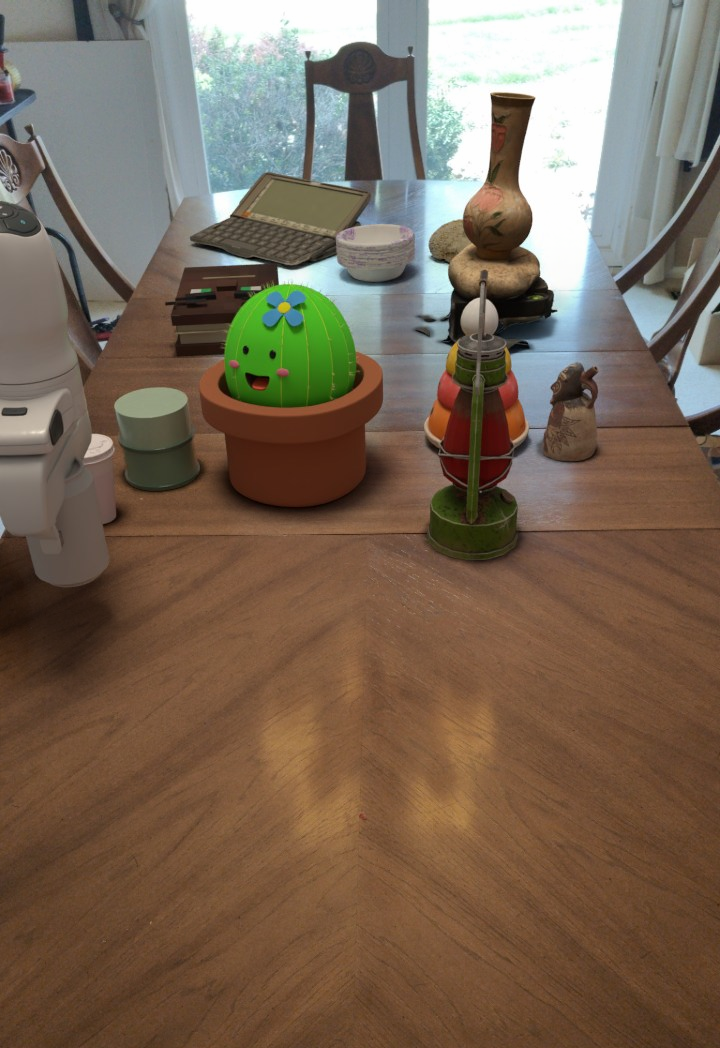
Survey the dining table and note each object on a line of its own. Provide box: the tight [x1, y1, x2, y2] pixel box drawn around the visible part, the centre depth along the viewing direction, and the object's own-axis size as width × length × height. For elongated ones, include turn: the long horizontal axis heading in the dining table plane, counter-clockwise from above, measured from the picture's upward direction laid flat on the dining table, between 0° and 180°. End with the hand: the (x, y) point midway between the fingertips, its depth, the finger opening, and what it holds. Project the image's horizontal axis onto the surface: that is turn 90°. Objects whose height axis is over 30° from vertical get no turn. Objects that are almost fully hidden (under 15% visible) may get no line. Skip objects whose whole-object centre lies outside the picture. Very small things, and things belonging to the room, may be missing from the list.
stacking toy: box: [423, 298, 530, 449], centre depth 129 cm, size 14×14×20 cm
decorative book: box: [164, 262, 280, 357], centre depth 170 cm, size 19×8×30 cm
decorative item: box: [427, 218, 472, 263], centre depth 198 cm, size 12×9×10 cm
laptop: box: [189, 171, 372, 266], centre depth 209 cm, size 26×32×10 cm
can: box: [25, 456, 110, 588], centre depth 97 cm, size 8×8×12 cm
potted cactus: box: [198, 279, 384, 508], centre depth 120 cm, size 22×22×25 cm
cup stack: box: [113, 386, 201, 492], centre depth 127 cm, size 10×10×10 cm
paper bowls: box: [336, 223, 416, 283], centre depth 190 cm, size 15×15×8 cm
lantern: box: [426, 270, 519, 561], centre depth 106 cm, size 14×11×30 cm
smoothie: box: [83, 433, 117, 525], centre depth 117 cm, size 6×6×14 cm
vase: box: [415, 91, 558, 350], centre depth 158 cm, size 24×22×35 cm
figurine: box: [541, 361, 599, 462], centre depth 128 cm, size 7×7×12 cm
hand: (64, 527), depth 98 cm, fingers closed on can, 7 cm apart
